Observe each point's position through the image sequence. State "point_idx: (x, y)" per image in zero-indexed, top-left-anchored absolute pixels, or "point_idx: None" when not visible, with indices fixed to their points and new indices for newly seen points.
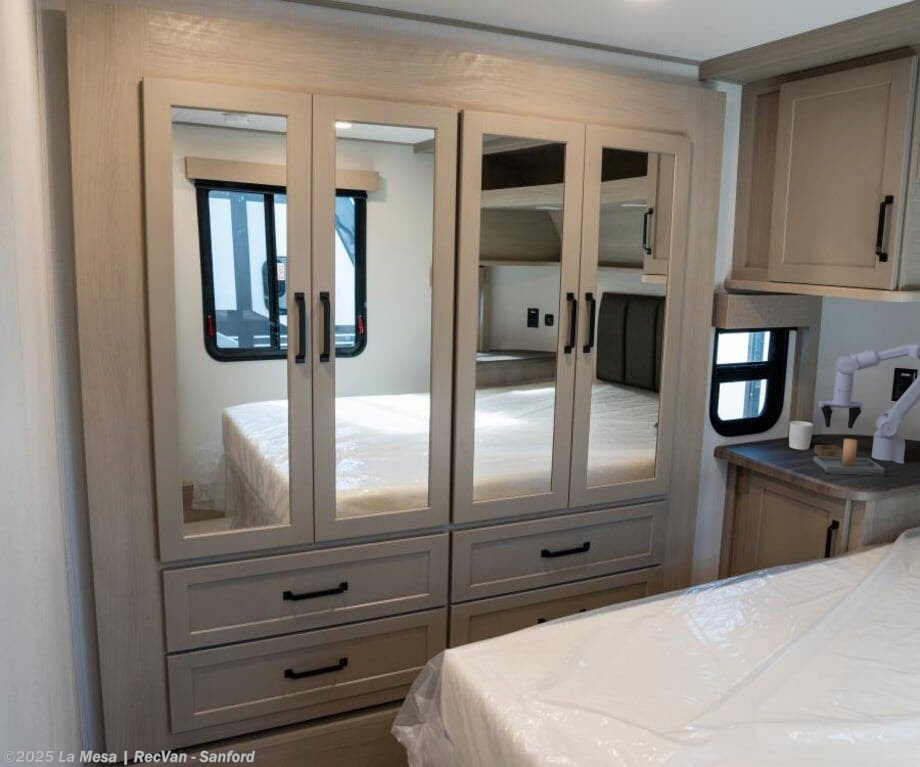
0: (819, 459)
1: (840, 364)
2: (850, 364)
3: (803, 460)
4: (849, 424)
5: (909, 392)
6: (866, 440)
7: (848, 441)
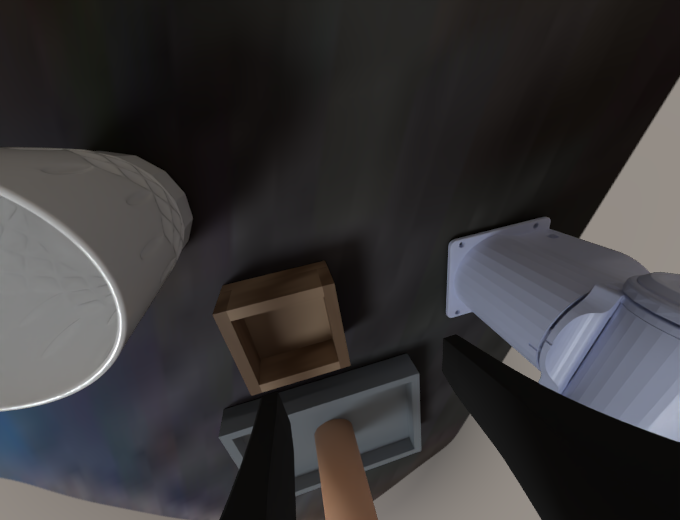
0: (241, 460)
1: None
2: None
3: (183, 391)
4: (461, 378)
5: None
6: None
7: None
